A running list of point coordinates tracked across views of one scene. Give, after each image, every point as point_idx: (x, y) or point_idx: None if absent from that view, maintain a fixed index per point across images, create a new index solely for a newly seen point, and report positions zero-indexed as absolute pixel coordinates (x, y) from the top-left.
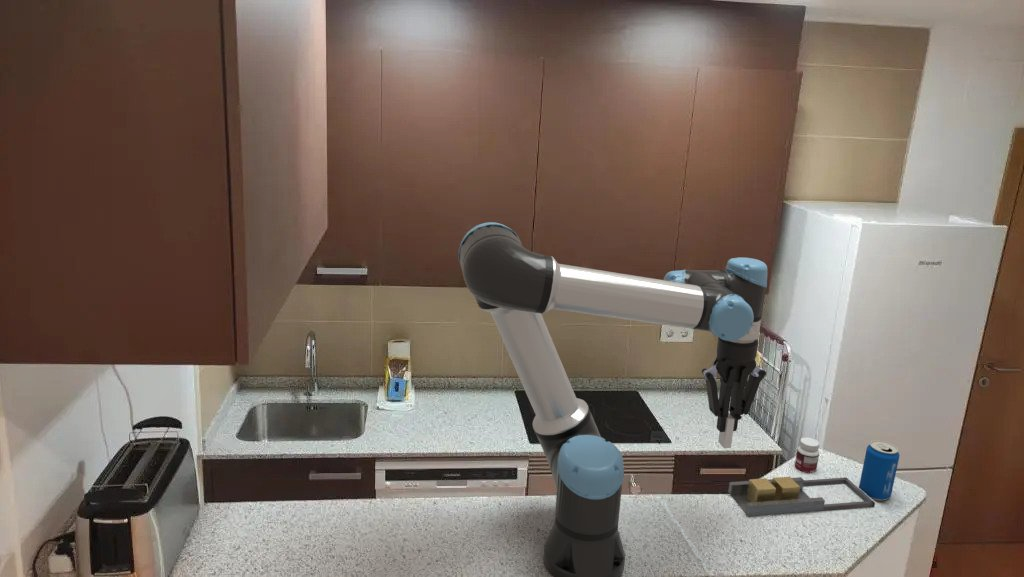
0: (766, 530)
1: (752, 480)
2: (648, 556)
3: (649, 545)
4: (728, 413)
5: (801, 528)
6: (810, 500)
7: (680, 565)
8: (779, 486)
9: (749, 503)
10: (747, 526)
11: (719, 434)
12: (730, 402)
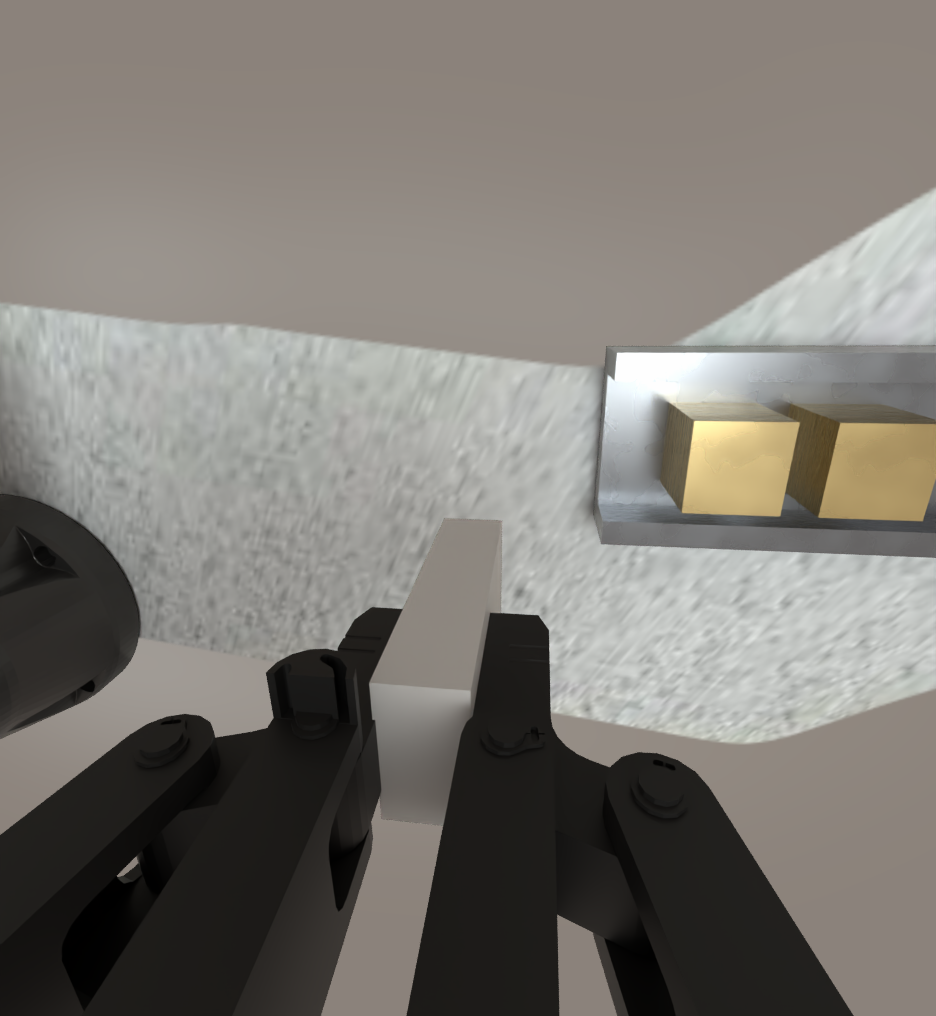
0: (640, 561)
1: (705, 433)
2: (211, 608)
3: (223, 566)
4: (458, 707)
5: (781, 572)
6: (914, 548)
7: (291, 654)
8: (820, 487)
9: (612, 526)
10: (583, 531)
11: (431, 552)
12: (434, 877)
